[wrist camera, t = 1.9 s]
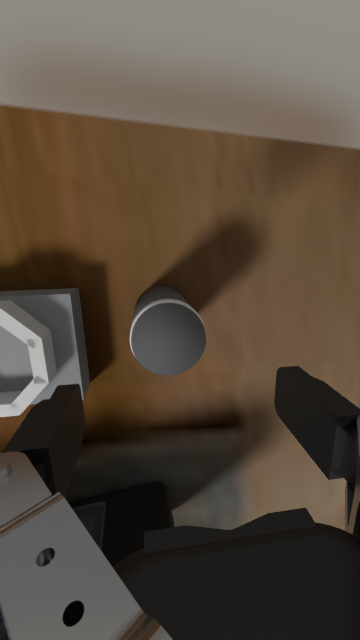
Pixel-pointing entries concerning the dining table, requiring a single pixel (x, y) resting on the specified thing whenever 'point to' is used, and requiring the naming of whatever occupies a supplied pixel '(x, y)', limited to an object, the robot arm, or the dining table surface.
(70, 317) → the mount block
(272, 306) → the dining table surface
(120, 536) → the camera
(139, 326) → the lens
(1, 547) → the robot arm
